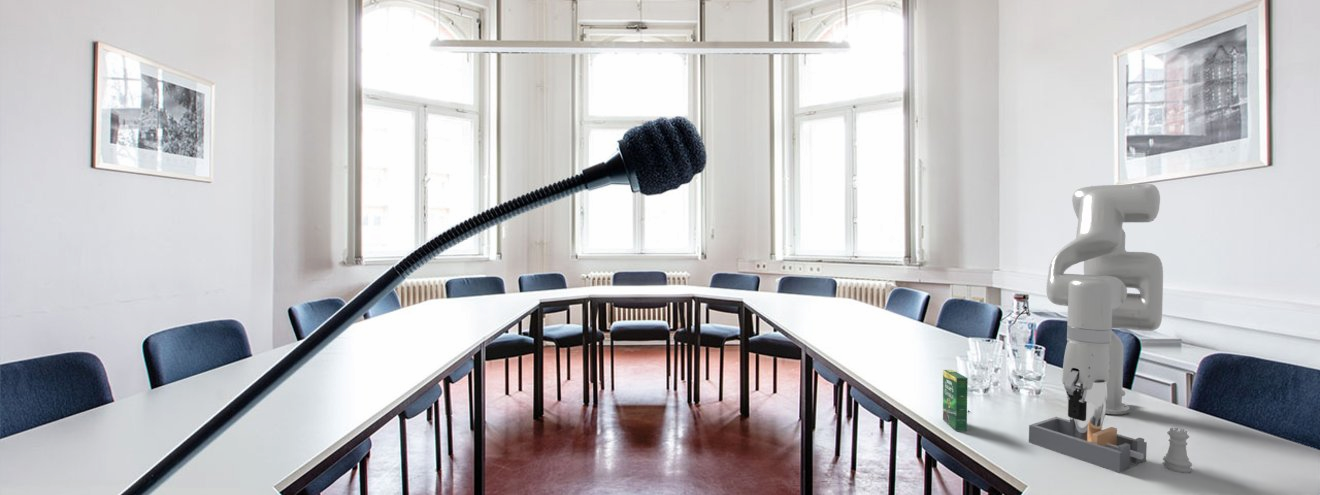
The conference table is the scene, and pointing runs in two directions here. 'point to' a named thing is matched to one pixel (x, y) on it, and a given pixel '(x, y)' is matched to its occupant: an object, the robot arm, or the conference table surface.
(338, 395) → the conference table surface
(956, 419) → the coffee box
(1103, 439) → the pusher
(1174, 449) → the rook chess piece
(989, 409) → the conference table surface
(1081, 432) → the beer glass
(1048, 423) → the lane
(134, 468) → the conference table surface
